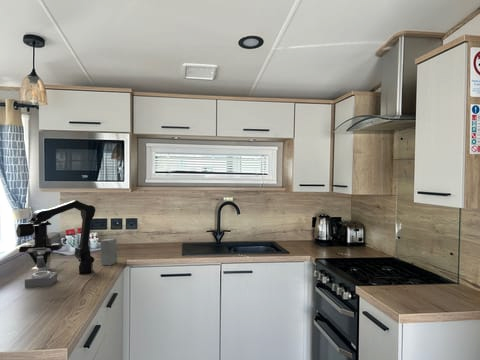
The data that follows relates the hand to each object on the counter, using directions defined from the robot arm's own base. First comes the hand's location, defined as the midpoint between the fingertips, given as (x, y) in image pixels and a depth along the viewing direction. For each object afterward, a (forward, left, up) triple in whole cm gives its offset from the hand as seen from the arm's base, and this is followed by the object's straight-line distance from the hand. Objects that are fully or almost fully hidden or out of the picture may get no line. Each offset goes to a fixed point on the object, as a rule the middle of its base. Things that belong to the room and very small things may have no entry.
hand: (41, 263), depth 167 cm
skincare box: (-27, -32, -11) cm, 43 cm away
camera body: (0, 0, -10) cm, 10 cm away
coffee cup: (+9, -27, -11) cm, 31 cm away
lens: (0, 0, -2) cm, 2 cm away
